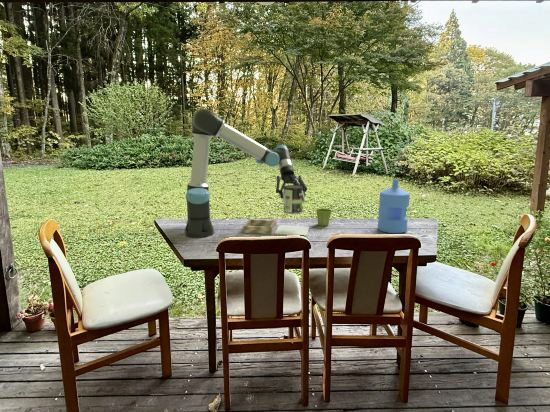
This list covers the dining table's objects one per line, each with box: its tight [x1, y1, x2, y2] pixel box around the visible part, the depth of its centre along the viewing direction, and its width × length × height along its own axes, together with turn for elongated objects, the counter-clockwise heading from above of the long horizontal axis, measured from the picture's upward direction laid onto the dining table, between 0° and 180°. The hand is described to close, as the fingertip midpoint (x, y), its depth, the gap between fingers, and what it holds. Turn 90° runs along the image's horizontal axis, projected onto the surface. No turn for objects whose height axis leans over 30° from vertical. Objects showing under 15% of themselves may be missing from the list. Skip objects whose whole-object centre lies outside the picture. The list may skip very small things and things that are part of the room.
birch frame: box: [242, 218, 277, 235], centre depth 213 cm, size 15×15×4 cm
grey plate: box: [274, 224, 310, 237], centre depth 210 cm, size 17×17×1 cm
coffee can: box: [283, 184, 303, 215], centre depth 206 cm, size 10×10×14 cm
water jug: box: [377, 179, 411, 234], centre depth 210 cm, size 16×16×28 cm
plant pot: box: [315, 208, 333, 227], centre depth 222 cm, size 9×9×9 cm
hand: (294, 202), depth 204 cm, fingers closed on coffee can, 10 cm apart
